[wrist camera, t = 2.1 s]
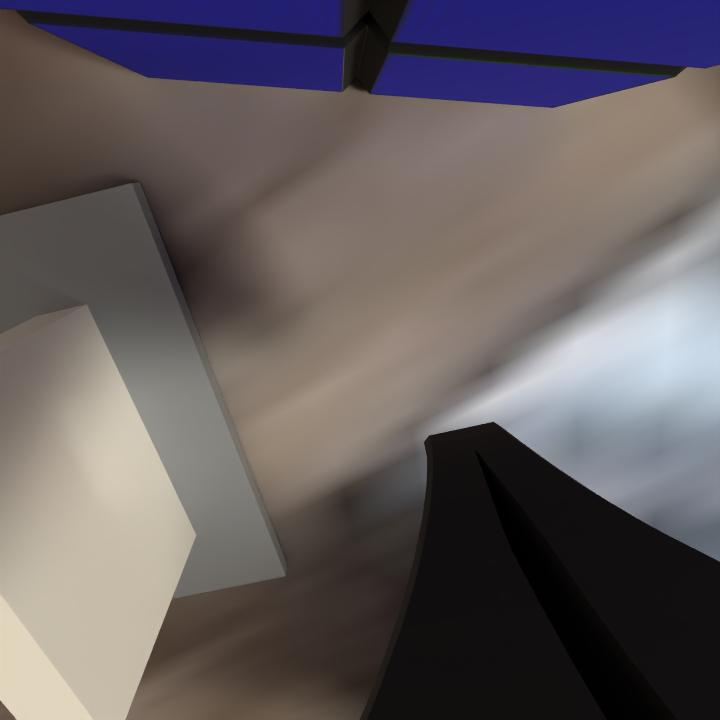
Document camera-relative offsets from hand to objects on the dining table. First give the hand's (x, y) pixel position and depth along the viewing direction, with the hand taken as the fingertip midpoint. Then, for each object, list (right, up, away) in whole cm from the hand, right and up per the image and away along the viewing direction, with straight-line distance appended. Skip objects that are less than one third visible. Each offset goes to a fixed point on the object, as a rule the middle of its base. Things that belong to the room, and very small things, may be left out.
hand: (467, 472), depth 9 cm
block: (-9, 0, +5) cm, 10 cm away
